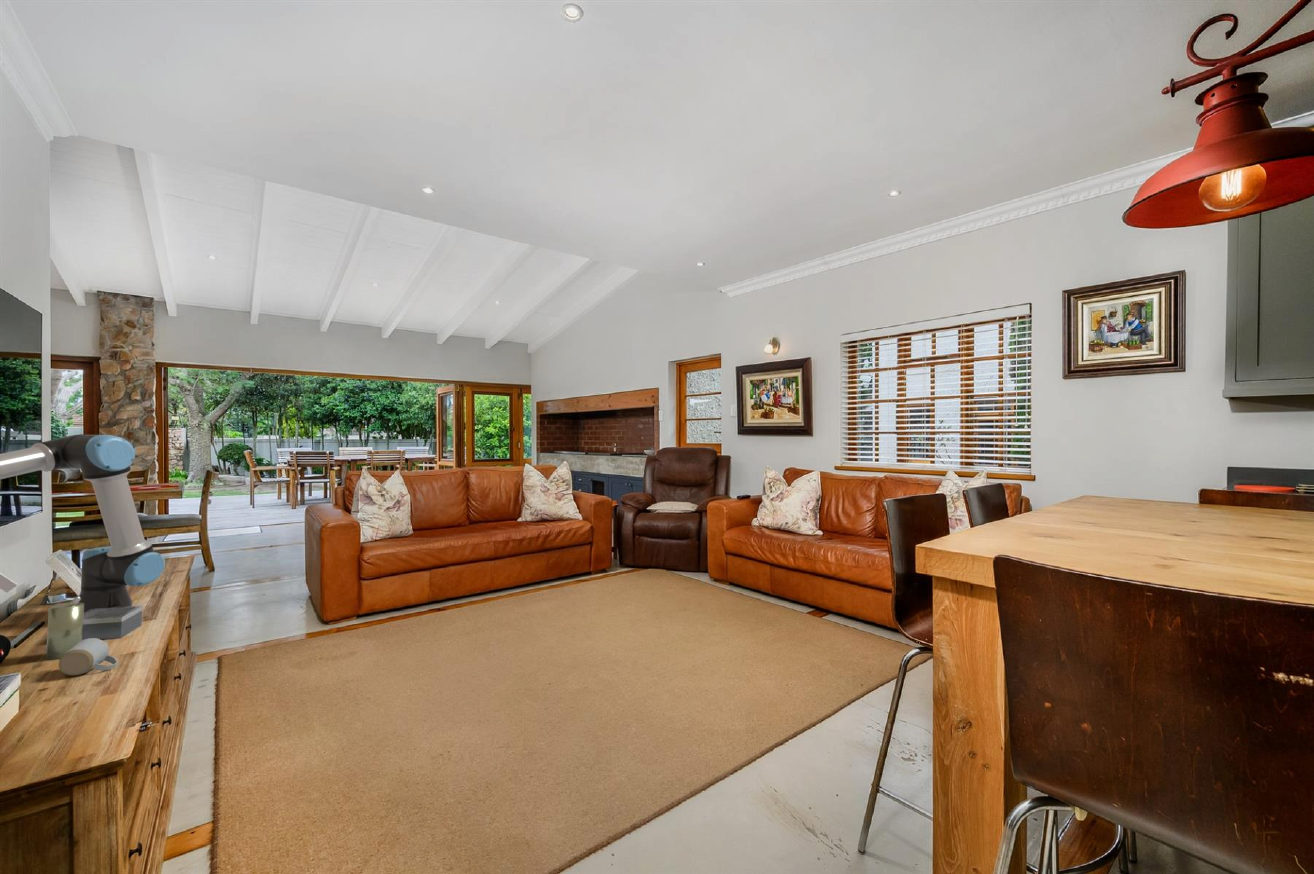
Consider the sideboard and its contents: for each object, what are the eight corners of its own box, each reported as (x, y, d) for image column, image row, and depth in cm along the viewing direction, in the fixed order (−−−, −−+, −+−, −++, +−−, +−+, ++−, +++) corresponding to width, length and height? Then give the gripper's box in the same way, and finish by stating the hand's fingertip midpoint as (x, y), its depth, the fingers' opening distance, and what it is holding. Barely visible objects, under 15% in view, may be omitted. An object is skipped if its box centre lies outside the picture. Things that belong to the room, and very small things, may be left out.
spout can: (39, 660, 154) (42, 601, 154) (55, 651, 161) (58, 594, 161) (72, 658, 157) (75, 599, 157) (87, 649, 163) (90, 593, 163)
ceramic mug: (54, 679, 143) (57, 649, 143) (71, 667, 150) (74, 638, 151) (109, 674, 147) (111, 645, 148) (123, 662, 155) (125, 635, 155)
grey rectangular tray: (96, 625, 183) (97, 606, 183) (145, 622, 188) (146, 603, 188) (66, 641, 168) (67, 620, 168) (120, 637, 173) (121, 617, 173)
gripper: (-74, 545, 152) (5, 594, 160) (-123, 561, 132) (-31, 616, 140) (-42, 525, 155) (33, 574, 163) (-86, 538, 135) (2, 593, 143)
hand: (4, 594), depth 152 cm, fingers open, 13 cm apart
